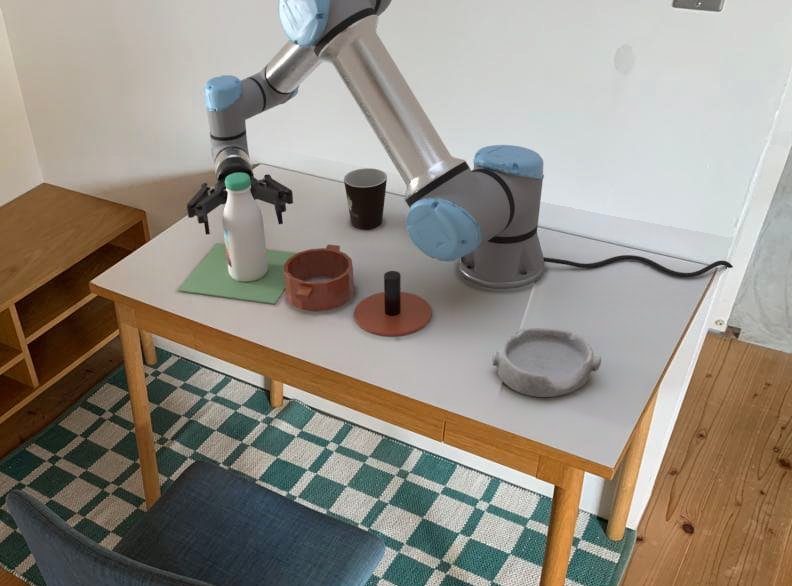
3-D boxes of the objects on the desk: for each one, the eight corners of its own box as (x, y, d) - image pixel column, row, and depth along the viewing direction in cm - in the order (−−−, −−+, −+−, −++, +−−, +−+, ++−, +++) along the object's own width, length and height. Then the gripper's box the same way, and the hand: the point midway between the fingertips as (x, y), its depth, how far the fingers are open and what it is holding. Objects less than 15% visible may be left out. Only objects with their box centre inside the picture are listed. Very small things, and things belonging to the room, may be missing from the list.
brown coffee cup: (385, 232, 185) (385, 187, 179) (343, 232, 187) (341, 187, 181) (390, 205, 194) (390, 161, 188) (349, 206, 196) (348, 162, 189)
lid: (439, 302, 164) (440, 259, 158) (420, 344, 154) (421, 300, 149) (367, 292, 168) (366, 251, 163) (344, 333, 159) (342, 290, 154)
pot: (366, 274, 174) (365, 245, 170) (336, 325, 161) (334, 295, 157) (304, 266, 178) (302, 238, 174) (271, 316, 166) (268, 286, 162)
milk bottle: (275, 266, 179) (266, 171, 166) (254, 286, 174) (243, 189, 161) (242, 259, 182) (231, 165, 170) (221, 278, 177) (207, 182, 165)
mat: (308, 256, 181) (308, 254, 181) (275, 304, 169) (275, 303, 168) (217, 245, 188) (216, 244, 188) (178, 291, 176) (178, 290, 176)
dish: (607, 376, 143) (612, 350, 140) (547, 414, 137) (550, 388, 134) (535, 337, 152) (537, 312, 149) (476, 372, 147) (477, 347, 144)
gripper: (296, 182, 187) (312, 231, 170) (175, 199, 186) (179, 250, 170) (294, 147, 182) (309, 194, 165) (170, 165, 182) (172, 213, 165)
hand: (243, 222), depth 167 cm, fingers open, 13 cm apart
